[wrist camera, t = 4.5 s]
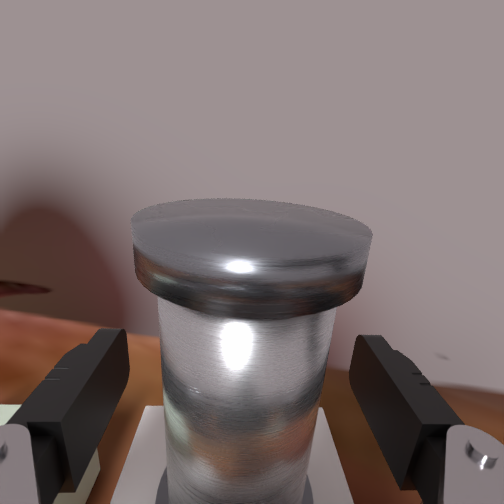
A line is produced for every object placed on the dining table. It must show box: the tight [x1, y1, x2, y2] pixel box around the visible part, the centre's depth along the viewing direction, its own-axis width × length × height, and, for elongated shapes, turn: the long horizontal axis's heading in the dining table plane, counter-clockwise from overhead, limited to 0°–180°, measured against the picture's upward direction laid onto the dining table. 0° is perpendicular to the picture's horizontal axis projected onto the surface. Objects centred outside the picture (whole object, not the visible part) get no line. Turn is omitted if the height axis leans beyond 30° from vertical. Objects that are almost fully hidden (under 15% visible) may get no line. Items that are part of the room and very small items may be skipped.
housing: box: [131, 199, 373, 504], centre depth 10 cm, size 6×6×12 cm
